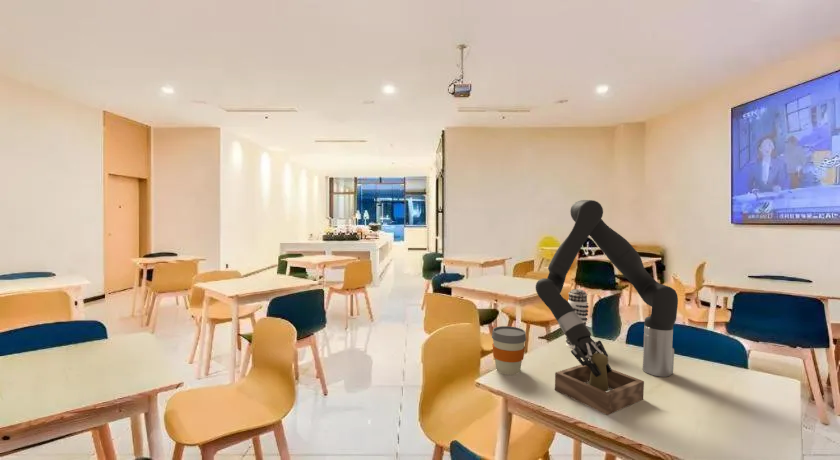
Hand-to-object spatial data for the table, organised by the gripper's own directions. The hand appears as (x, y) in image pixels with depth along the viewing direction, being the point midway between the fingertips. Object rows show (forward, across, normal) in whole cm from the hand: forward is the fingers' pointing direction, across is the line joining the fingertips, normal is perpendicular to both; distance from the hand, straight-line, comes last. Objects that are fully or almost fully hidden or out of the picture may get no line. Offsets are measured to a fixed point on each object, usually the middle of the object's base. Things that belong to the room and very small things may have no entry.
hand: (604, 373), depth 131 cm
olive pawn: (+2, 0, +5) cm, 6 cm away
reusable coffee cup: (-17, -12, +28) cm, 35 cm away
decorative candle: (-20, +34, +31) cm, 50 cm away
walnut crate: (+4, 0, +7) cm, 8 cm away
